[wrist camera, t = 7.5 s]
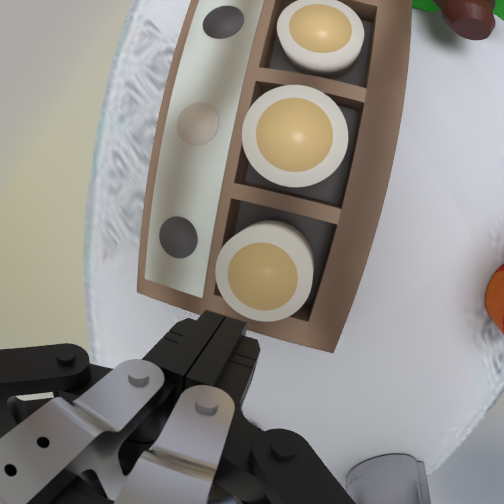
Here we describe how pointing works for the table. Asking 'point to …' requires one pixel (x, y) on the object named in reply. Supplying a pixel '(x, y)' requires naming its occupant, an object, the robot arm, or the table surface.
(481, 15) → the purple flower sprig
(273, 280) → the button
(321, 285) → the wooden candle tray
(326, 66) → the button
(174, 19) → the table surface
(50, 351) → the robot arm
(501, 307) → the paper cup
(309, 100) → the button mid
